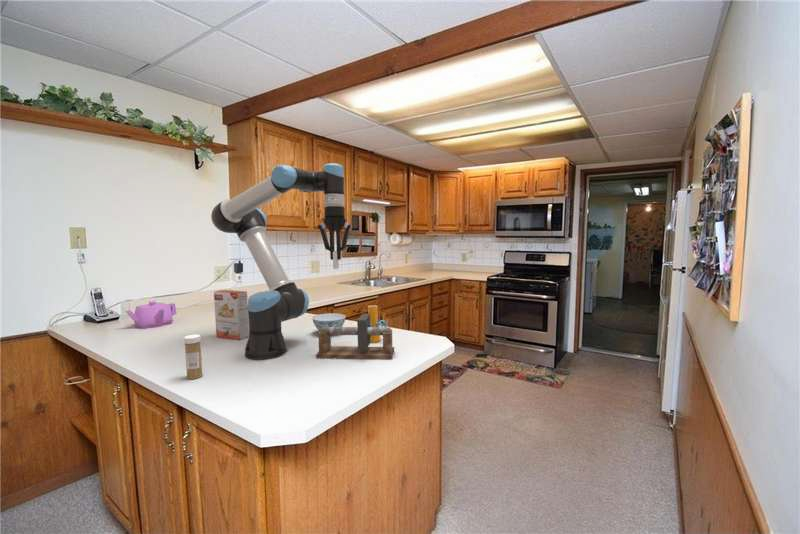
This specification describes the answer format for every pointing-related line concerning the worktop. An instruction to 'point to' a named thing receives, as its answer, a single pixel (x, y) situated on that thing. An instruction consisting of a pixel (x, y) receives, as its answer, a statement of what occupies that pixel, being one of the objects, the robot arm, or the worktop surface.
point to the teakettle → (153, 314)
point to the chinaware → (328, 320)
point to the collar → (363, 331)
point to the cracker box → (231, 314)
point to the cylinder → (375, 321)
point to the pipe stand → (353, 351)
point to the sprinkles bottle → (193, 356)
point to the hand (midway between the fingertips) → (336, 268)
